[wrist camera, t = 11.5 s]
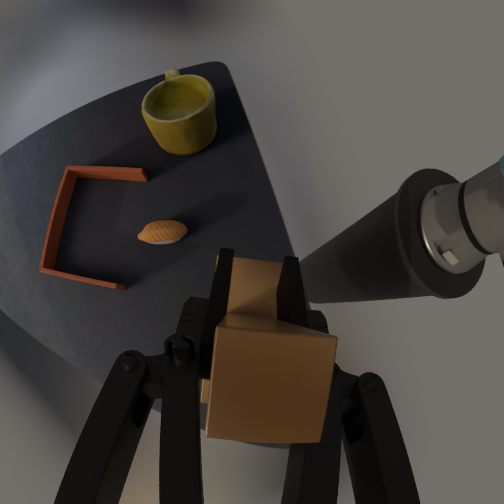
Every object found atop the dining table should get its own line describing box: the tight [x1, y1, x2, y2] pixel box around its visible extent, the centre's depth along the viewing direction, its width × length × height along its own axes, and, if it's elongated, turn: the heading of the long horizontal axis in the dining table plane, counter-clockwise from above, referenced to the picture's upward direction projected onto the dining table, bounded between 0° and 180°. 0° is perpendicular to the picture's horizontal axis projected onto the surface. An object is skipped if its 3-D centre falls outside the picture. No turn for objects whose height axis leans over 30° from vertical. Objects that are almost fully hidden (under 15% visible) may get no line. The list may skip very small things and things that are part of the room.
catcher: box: [39, 166, 148, 290], centre depth 32 cm, size 13×15×3 cm
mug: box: [142, 69, 217, 156], centre depth 34 cm, size 12×10×10 cm
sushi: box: [138, 220, 187, 244], centre depth 33 cm, size 3×6×3 cm, turn 98°
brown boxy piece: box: [201, 255, 338, 443], centre depth 13 cm, size 10×5×16 cm, turn 173°
